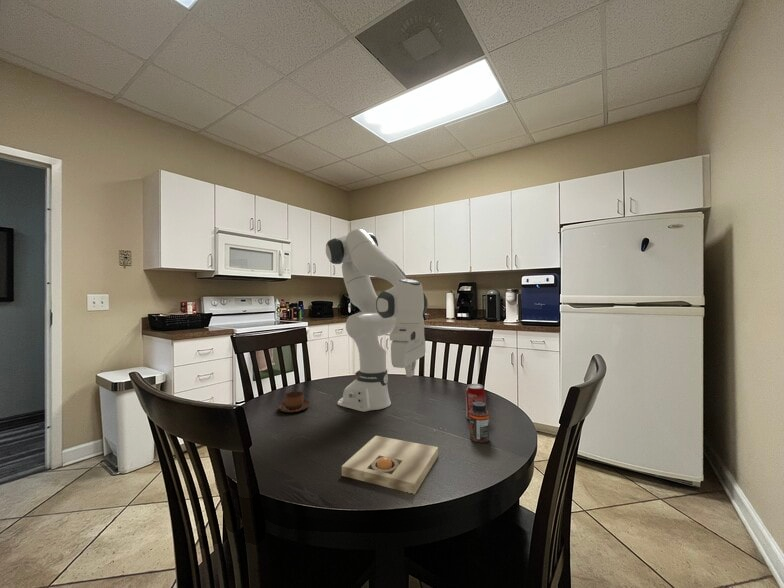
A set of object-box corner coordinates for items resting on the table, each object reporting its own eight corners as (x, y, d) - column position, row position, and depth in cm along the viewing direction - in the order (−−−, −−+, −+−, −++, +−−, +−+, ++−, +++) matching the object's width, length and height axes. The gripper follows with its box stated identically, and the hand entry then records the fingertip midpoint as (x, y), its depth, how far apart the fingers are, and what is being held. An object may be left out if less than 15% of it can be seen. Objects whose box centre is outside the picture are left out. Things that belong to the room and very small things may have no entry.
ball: (373, 463, 83) (380, 451, 87) (375, 475, 85) (381, 463, 88) (387, 468, 82) (393, 455, 85) (389, 479, 83) (395, 467, 87)
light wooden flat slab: (341, 475, 84) (341, 465, 84) (375, 443, 101) (375, 435, 101) (414, 494, 76) (414, 483, 76) (438, 455, 93) (438, 447, 93)
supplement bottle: (467, 435, 106) (466, 400, 106) (485, 434, 106) (484, 399, 106) (473, 444, 100) (472, 407, 100) (492, 442, 100) (491, 406, 100)
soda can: (486, 423, 115) (485, 389, 115) (466, 421, 117) (466, 388, 116) (484, 415, 122) (484, 383, 122) (466, 414, 123) (465, 382, 123)
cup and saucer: (272, 412, 130) (271, 397, 130) (292, 403, 141) (291, 388, 141) (296, 416, 125) (296, 400, 125) (315, 406, 136) (315, 391, 136)
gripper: (412, 327, 112) (412, 367, 113) (386, 335, 94) (387, 383, 94) (430, 328, 110) (430, 369, 110) (407, 336, 91) (407, 385, 91)
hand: (410, 375), depth 102 cm, fingers closed
